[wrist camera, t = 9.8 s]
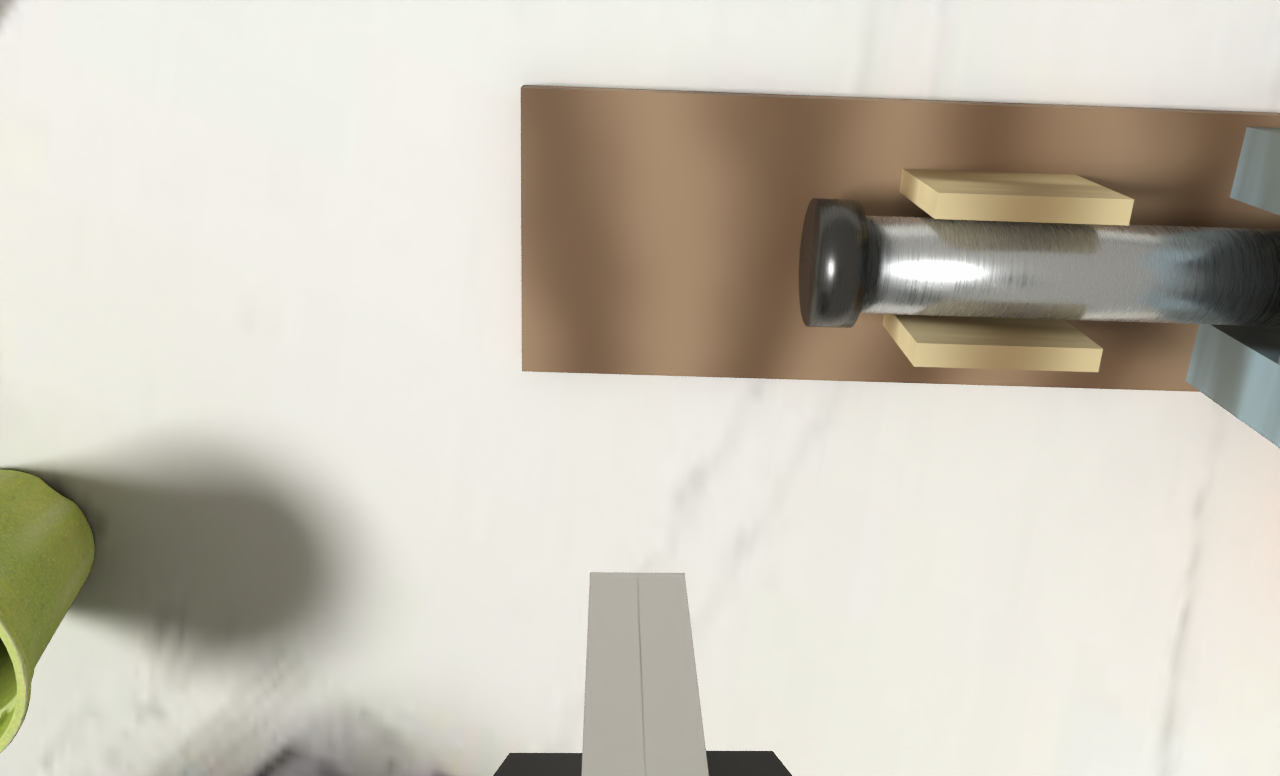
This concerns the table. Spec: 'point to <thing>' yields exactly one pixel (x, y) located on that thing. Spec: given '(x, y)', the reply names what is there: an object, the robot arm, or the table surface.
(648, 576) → the robot arm
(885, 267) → the tube
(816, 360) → the base
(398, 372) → the table surface
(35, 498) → the plant pot
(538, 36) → the table surface
